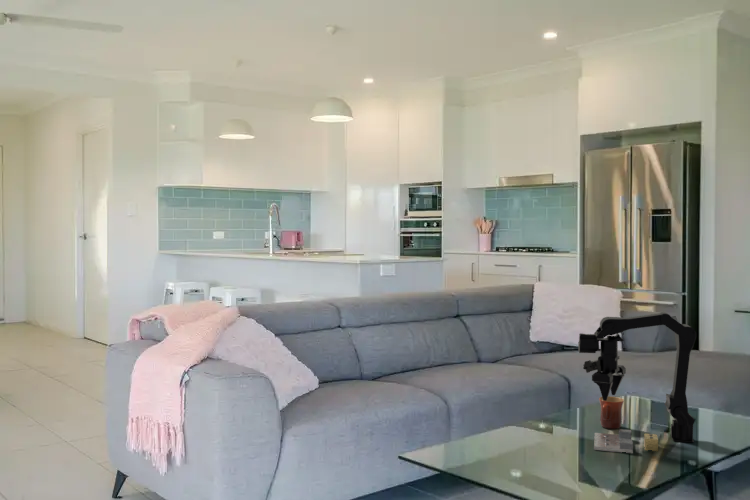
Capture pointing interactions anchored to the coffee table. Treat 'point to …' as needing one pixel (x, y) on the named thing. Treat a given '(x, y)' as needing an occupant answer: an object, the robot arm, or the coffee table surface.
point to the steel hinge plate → (614, 442)
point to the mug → (611, 412)
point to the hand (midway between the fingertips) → (609, 397)
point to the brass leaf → (651, 442)
